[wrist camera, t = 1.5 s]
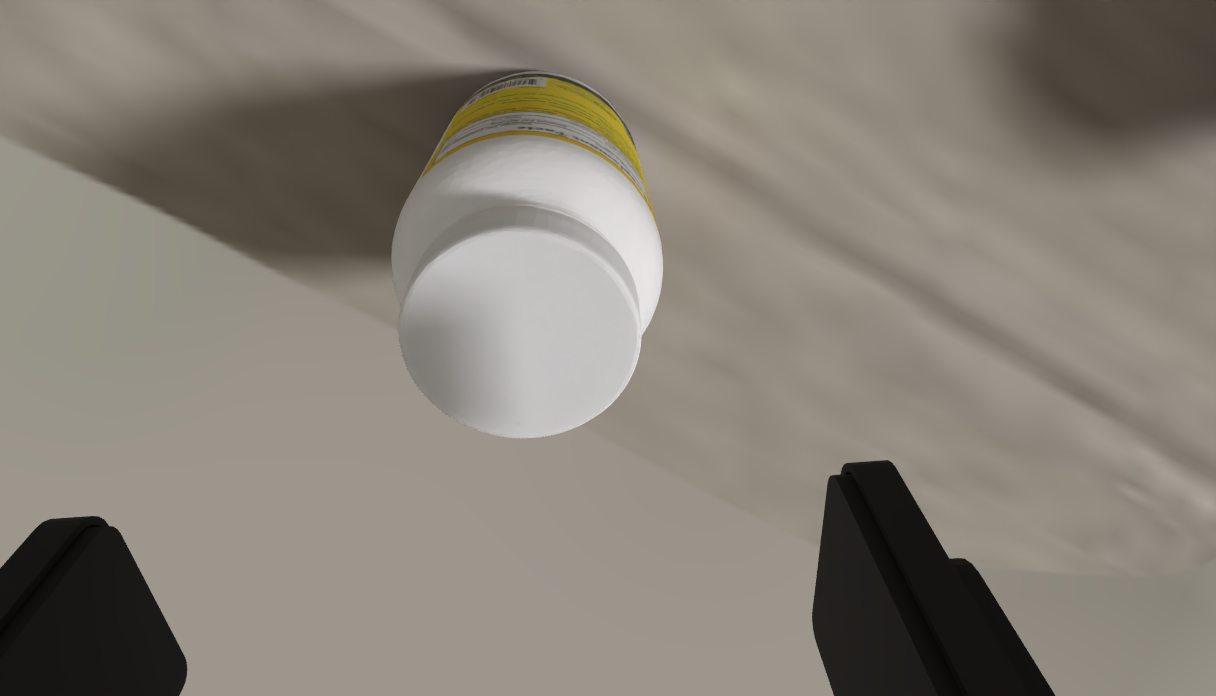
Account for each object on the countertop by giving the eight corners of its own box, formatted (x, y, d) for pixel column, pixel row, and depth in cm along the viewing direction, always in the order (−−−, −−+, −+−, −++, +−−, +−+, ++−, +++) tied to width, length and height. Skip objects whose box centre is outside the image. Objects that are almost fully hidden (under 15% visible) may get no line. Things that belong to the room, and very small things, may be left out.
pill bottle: (560, 290, 26) (551, 514, 16) (405, 184, 24) (293, 370, 14) (679, 152, 24) (748, 320, 14) (519, 20, 21) (474, 113, 12)
